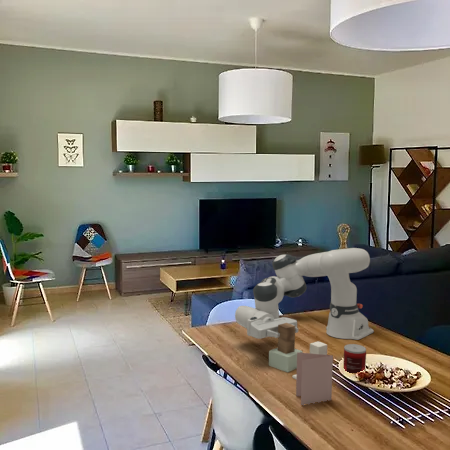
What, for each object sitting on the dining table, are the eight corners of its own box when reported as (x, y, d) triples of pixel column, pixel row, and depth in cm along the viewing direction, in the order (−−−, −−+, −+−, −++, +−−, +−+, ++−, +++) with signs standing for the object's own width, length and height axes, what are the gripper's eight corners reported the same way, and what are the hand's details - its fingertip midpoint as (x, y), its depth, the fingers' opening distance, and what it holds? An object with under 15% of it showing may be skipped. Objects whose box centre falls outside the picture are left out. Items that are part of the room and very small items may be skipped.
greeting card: (331, 398, 164) (332, 354, 162) (330, 409, 157) (332, 363, 155) (296, 394, 167) (297, 351, 165) (294, 405, 159) (295, 359, 158)
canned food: (356, 371, 186) (358, 342, 185) (369, 380, 178) (370, 350, 177) (338, 374, 183) (339, 345, 182) (350, 383, 176) (352, 352, 175)
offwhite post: (317, 366, 190) (318, 341, 189) (326, 370, 187) (327, 344, 185) (309, 369, 188) (309, 343, 186) (318, 373, 184) (318, 347, 183)
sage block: (283, 359, 197) (283, 345, 197) (302, 366, 191) (302, 351, 190) (268, 366, 191) (269, 351, 190) (287, 373, 185) (288, 357, 184)
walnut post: (286, 347, 194) (286, 322, 192) (294, 351, 190) (295, 325, 189) (277, 350, 191) (278, 324, 190) (285, 354, 187) (286, 328, 186)
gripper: (283, 326, 206) (307, 335, 195) (244, 336, 194) (267, 346, 183) (283, 311, 206) (307, 320, 195) (244, 320, 194) (267, 329, 183)
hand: (287, 333), depth 189 cm, fingers open, 8 cm apart
